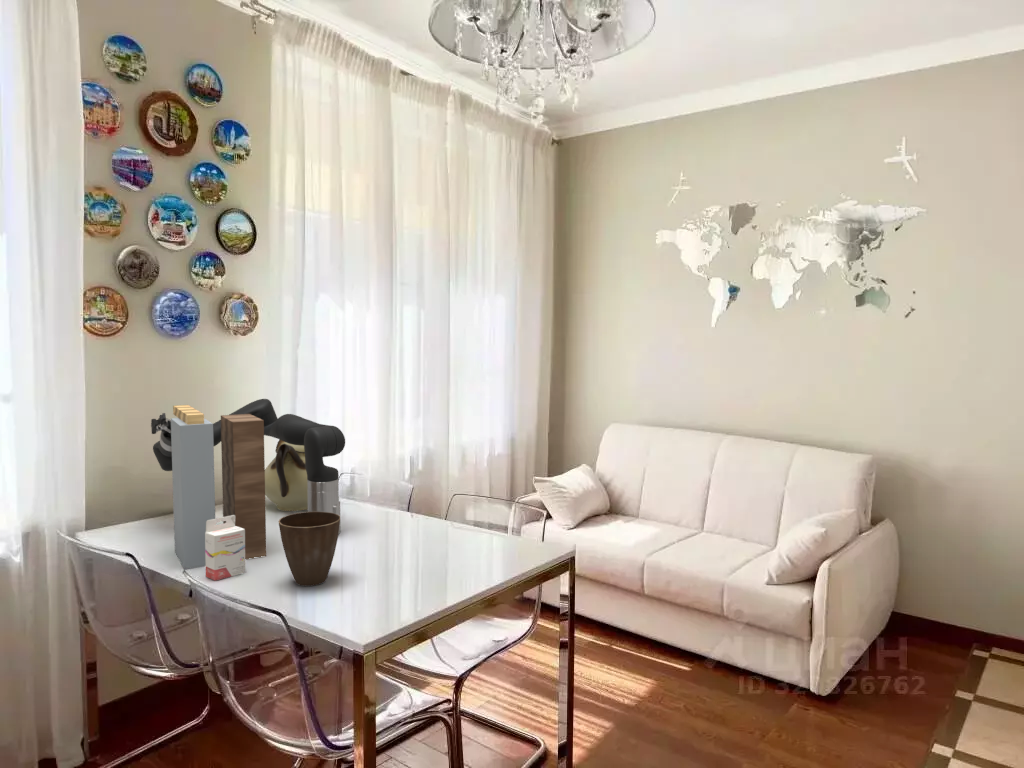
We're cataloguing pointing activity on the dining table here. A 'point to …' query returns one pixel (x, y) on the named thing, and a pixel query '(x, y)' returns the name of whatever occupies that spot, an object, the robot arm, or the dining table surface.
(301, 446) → the pitcher
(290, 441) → the robot arm
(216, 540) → the ink cartridge box
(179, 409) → the pine slat
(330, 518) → the plant pot
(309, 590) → the dining table surface
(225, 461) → the walnut pillar
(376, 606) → the dining table surface
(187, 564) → the slate grey pillar
